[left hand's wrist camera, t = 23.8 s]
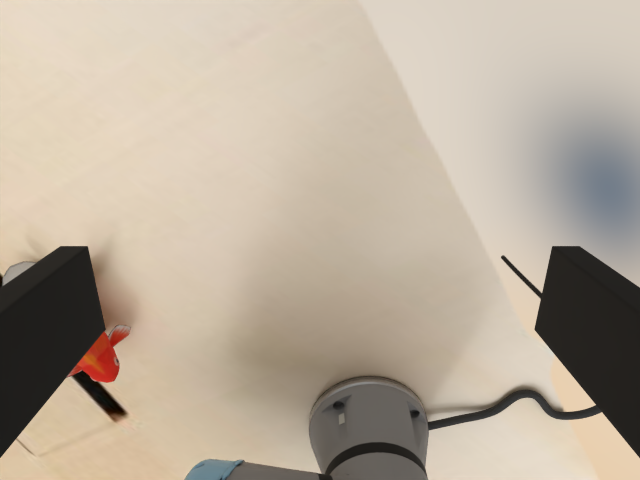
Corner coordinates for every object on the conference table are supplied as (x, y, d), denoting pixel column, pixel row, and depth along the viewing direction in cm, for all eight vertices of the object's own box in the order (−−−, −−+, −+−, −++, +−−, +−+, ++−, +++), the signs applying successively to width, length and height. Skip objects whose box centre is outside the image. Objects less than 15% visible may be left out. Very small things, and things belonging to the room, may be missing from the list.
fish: (54, 404, 50) (6, 427, 40) (12, 278, 51) (-45, 270, 42) (147, 366, 52) (123, 378, 42) (104, 245, 53) (71, 231, 44)
